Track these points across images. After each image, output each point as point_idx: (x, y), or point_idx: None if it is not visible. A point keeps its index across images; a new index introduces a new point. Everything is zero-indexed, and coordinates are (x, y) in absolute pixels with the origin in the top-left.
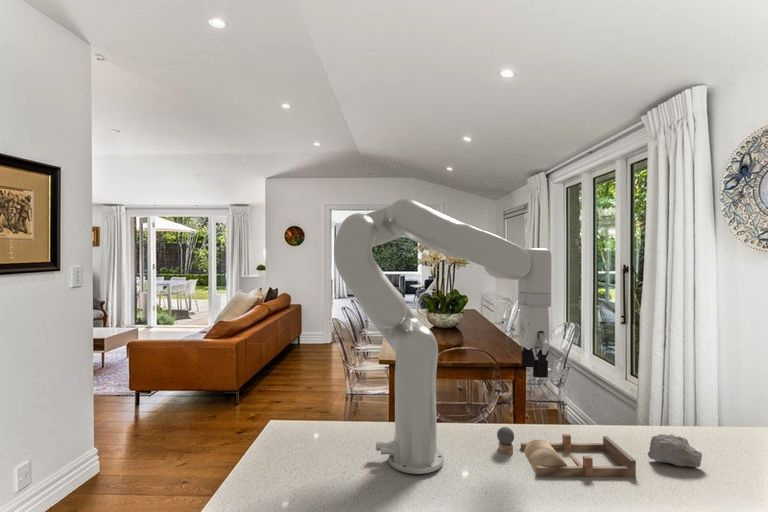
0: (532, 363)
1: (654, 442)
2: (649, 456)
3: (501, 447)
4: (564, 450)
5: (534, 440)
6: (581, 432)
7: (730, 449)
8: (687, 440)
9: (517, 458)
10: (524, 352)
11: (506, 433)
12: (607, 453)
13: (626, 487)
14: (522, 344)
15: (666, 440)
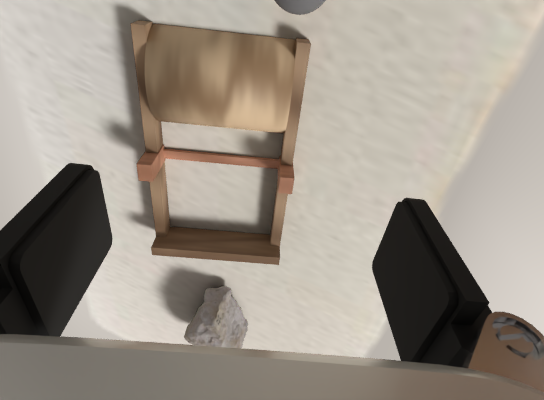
0: (381, 271)
1: (206, 316)
2: (223, 288)
3: None
4: (279, 158)
5: (289, 87)
6: (380, 239)
7: None
8: None
9: (253, 3)
10: (439, 300)
11: None
12: (258, 235)
13: (115, 197)
14: (218, 374)
15: (201, 333)
